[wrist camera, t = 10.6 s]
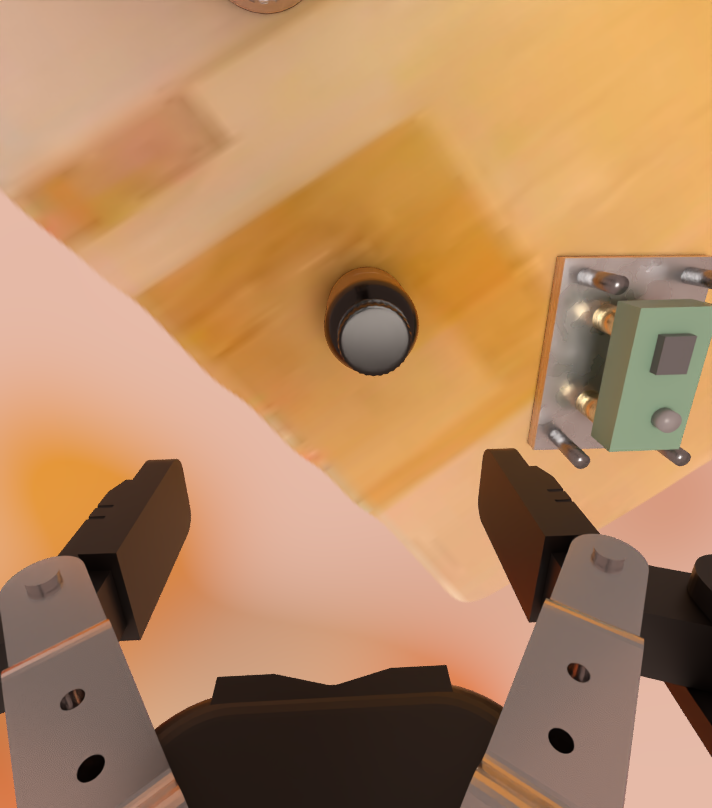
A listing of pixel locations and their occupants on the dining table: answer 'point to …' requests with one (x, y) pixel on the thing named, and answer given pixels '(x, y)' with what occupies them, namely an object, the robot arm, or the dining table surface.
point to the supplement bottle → (370, 321)
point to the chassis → (598, 339)
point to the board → (651, 373)
